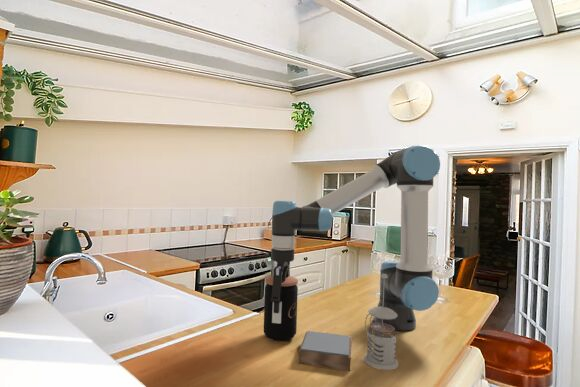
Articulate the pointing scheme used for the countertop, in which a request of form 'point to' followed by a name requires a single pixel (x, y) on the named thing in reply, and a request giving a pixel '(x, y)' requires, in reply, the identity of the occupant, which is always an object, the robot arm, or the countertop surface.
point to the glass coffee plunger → (381, 338)
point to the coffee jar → (288, 310)
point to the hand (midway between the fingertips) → (280, 316)
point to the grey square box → (326, 350)
